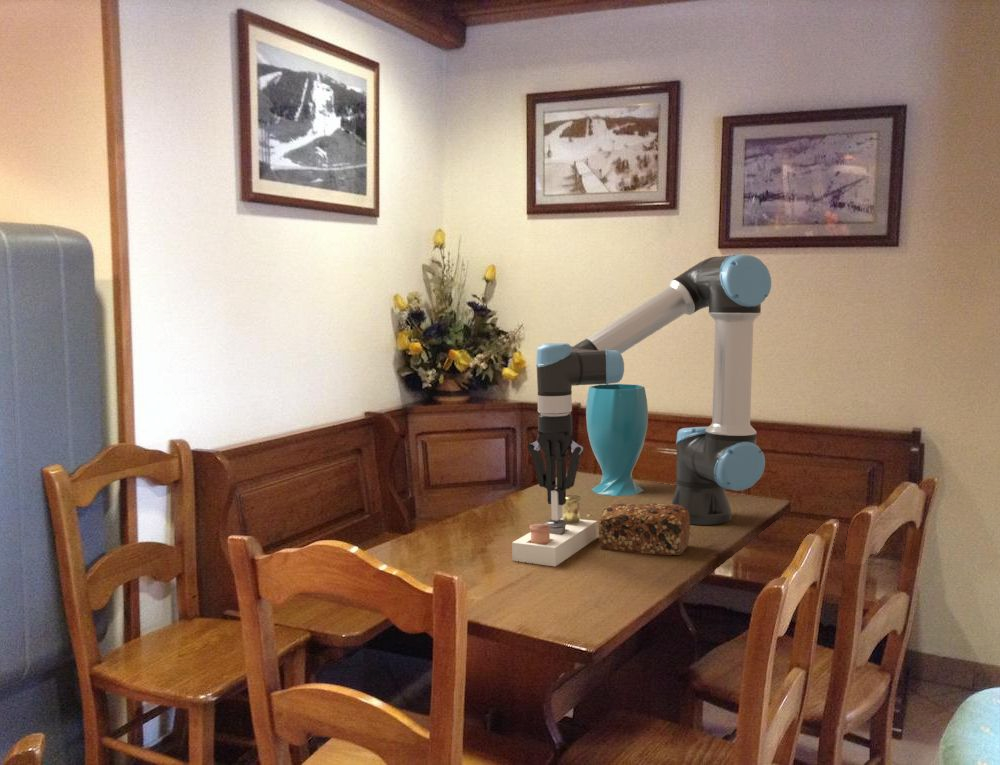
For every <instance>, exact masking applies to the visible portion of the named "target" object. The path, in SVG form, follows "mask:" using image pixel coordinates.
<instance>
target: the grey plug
mask: <svg viewBox="0 0 1000 765" xmlns="http://www.w3.org/2000/svg"><path fill="white" fill-rule="evenodd" d="M545 524H548V525H550V534H558V535H562V534H564V533H565V526H566V521H565V520H562V519H559V520H558V521H557V520H552V518H551V519H548V520H546V521H545Z"/></svg>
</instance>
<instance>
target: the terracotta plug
mask: <svg viewBox="0 0 1000 765" xmlns="http://www.w3.org/2000/svg"><path fill="white" fill-rule="evenodd" d="M529 531H530V532H531V543H534V544H542V545H546V544H548V543H550V525H548V524H546V523H534V524H530V525H529Z"/></svg>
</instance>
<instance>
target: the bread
mask: <svg viewBox="0 0 1000 765" xmlns="http://www.w3.org/2000/svg"><path fill="white" fill-rule="evenodd" d="M690 530H691V524H690V516H689V512H688V509H687V508H686V507H683V506H681V505H677V504H671V503H656V502H655V503H652V502H649V503H646V502H645V503H634V502H633V503H632V502H629V503H628V502H627V503H625V502H624V503H621V502H618V503H617V502H616V503H613V504H610V505H609V506H608V507H607V508H604V509H603V511H602V513H601V514H600V515H599V518H598V538H599V539H598V541H599V545H600V546H599V547H600V549H601V550H605V551H608V550H612V551H616V552H621V551H622V552H626V553H639V554H653V555H658V556H659V555H661V556H672V555H673V556H679V555H682V554H683V553H684V552H685V551H686V550H687V548H688V546H689V541H690V534H691V532H690Z"/></svg>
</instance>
